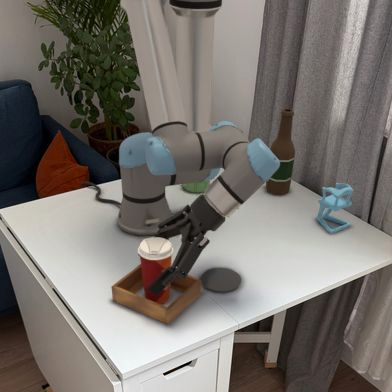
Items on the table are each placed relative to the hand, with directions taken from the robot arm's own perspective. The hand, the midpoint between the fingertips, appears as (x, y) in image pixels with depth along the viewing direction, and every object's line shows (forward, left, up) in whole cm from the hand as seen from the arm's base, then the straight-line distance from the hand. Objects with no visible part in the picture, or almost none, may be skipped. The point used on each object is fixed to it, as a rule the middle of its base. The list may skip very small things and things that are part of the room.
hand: (146, 274), depth 114 cm
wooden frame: (+2, +2, -7) cm, 7 cm away
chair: (+22, +57, -7) cm, 62 cm away
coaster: (+11, +16, -7) cm, 20 cm away
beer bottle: (0, +68, -7) cm, 68 cm away
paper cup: (+2, +2, -7) cm, 7 cm away
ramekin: (-21, +55, -7) cm, 60 cm away
